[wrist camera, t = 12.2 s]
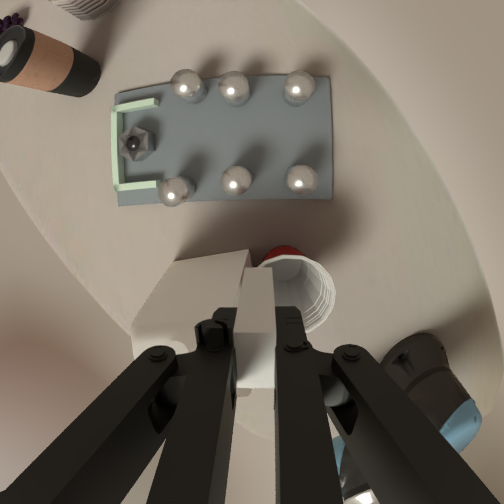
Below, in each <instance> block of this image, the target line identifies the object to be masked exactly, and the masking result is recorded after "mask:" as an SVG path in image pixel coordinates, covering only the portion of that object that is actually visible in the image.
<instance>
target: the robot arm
mask: <svg viewBox="0 0 504 504" xmlns="http://www.w3.org/2000/svg"><path fill="white" fill-rule="evenodd" d="M194 329H195V336H196V343H197V348H196V350H195V351H193V352H189V353H184V354H177V355H176V353H175V350H174V349H173V348H171V347H169V346H164V345H158V346H153V347H150V348H148V349H146V350H145V351H143V352H142V353H141V354H140V355H139V356H138V357H137V358H136V359H135V360H134V361H133V362H132V363H131V364H130V365H129V366H128V367H127V368H126V369H125V370H124V372H122V373H121V374H120V375H119V376H118V377H117V378H116V379H115V380H114V381H113V382H112V383H111V384H110V385H109V386H108V387H107V388H106V389H105V390H104V391H103V392H102V393H101V394H100V395H99V396H98V397H97V398H96V399H95V400H94V401H93V402H92V403H91V404H90V405H89V406H88V407H87V408H86V409H85V410H84V411H83V412H82V413H81V414H80V415H79V416H78V417H77V418H76V419H75V420H74V421H73V422H72V423H71V424H70V425H69V426H68V427H67V428H66V429H65V430H64V431H63V432H62V433H61V434H60V435H59V436H58V437H57V438H56V439H55V440H54V441H53V442H52V443H51V444H50V445H49V446H48V447H47V448H46V449H45V450H44V451H43V452H42V453H41V454H40V455H39V456H38V457H37V458H36V459H35V460H34V461H33V462H32V463H31V464H30V466H28V467H27V468H26V469H25V470H24V471H23V472H22V473H21V474H20V475H19V476H18V478H16V480H15V481H14V482H13V483H12V484H11V485H10V486H9V487H8V488H7V489H6V490H4V491H2V492H0V504H120V503H121V502H122V500H123V499H124V498H125V496H126V495H127V493H128V492H129V491H130V489H131V488H132V486H133V485H134V484H135V482H136V481H137V480H138V478H139V477H140V475H141V474H142V472H143V471H144V469H145V468H146V467H147V465H148V464H149V462H150V461H151V459H152V458H153V456H154V455H155V454H156V452H157V451H158V449H159V448H160V446H161V445H162V443H163V442H164V440H165V439H166V441H165V444H164V447H163V451H162V454H161V457H160V460H159V463H158V466H157V470H156V473H155V476H154V479H153V483H152V486H151V489H150V492H149V496H148V499H147V502H146V504H225V494H226V487H227V486H226V485H227V478H228V469H229V460H230V452H231V443H232V434H233V425H234V417H235V408H236V399H237V394H236V384H237V388H275V390H274V410H275V466H276V468H275V471H276V504H343V498H344V503H345V504H500V503H499V502H498V500H497V499H496V498H495V497H494V495H493V494H492V493H491V492H490V491H489V489H488V488H487V487H486V486H485V485H484V483H483V482H482V481H481V480H480V479H479V477H478V476H477V475H476V474H475V473H474V471H473V470H472V469H471V468H470V467H469V466H468V464H467V463H466V462H465V461H464V460H463V459H462V457H461V456H460V455H459V453H460V452H461V451H463V450H464V449H465V448H466V447H467V445H469V443H470V442H471V441H472V440H473V438H474V437H475V436H476V434H477V432H478V431H479V428H480V426H481V422H482V417H481V413H480V412H479V410H478V408H477V407H476V405H475V401H474V400H473V399H472V398H471V397H470V395H469V394H468V393H467V391H466V390H465V388H464V387H463V386H462V384H461V383H460V382H459V380H458V379H457V377H456V376H455V375H454V374H453V372H452V371H451V369H450V367H449V363H448V359H447V355H446V352H445V348H444V346H443V345H442V343H441V342H440V341H439V340H438V338H437V337H435V336H434V335H431V334H426V333H423V334H417V335H413V336H411V337H408V338H406V339H404V340H403V341H401V342H400V343H398V344H397V345H396V346H394V347H393V348H392V349H391V350H390V351H389V352H388V353H387V355H386V356H385V357H384V359H383V360H382V362H381V364H379V363H378V362H377V361H376V360H375V359H374V358H373V357H372V355H371V354H370V353H369V352H368V351H367V350H366V349H364V348H363V347H360V346H358V345H352V344H347V345H342V346H339V347H337V348H336V349H335V350H334V353H333V354H331V353H325V352H320V351H317V350H315V349H314V348H312V345H311V343H310V342H309V341H307V337H306V332H305V328H304V323H303V319H302V315H301V311H300V310H299V309H298V308H297V307H296V306H275V303H274V289H273V274H272V267H253V268H245V269H244V275H243V280H242V286H241V291H240V297H239V303H238V307H219V308H218V309H217V310H216V311H215V312H214V313H213V316H212V319H207V320H204V321H201V322H199V323H198V324H197V325H196V326H195V327H194ZM326 411H327V412H326ZM327 413H328V415H329V417H330V418H331V420H332V422H333V424H334V426H335V427H336V429H337V431H338V433H339V434H340V435H339V436H337V437H335V438H333V439H332V437H331V432H330V427H329V422H328V417H327ZM166 437H167V438H166ZM342 497H343V498H342Z"/></svg>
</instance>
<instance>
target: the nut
mask: <svg viewBox="0 0 504 504" xmlns="http://www.w3.org/2000/svg"><path fill="white" fill-rule="evenodd" d="M155 151H156V146H155V134H154V133H152V132H150V131H148V130H146V129H144V128H141V127H137V126H131V127H130V128H129V129H128V130H126V131H125V132H124V133H123V134H122V135H120V136H119V154H120V155H122V156H124V157H126V158H128V159H130V160H132V161H134V162H136V161H143V160H145V159H146V158H147V157H148V156H150V155H151V154H152V153H154V152H155Z"/></svg>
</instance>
